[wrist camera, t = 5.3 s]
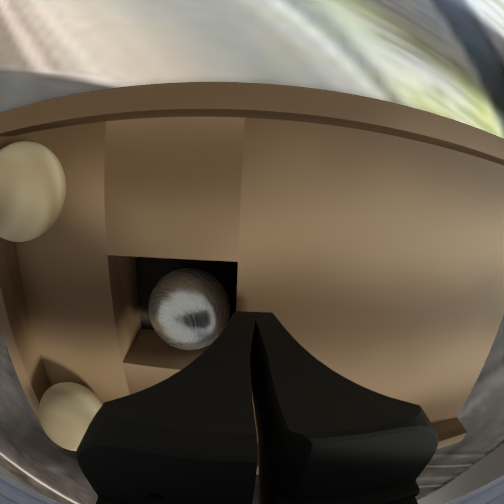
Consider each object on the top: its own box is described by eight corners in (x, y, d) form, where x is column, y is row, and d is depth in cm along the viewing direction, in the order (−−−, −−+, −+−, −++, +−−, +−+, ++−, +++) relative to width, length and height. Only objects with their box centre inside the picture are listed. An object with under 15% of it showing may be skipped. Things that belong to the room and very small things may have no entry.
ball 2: (122, 423, 13) (102, 472, 10) (67, 410, 13) (43, 452, 10) (108, 375, 12) (79, 426, 9) (49, 362, 12) (15, 404, 9)
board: (433, 398, 17) (461, 441, 12) (75, 390, 16) (46, 436, 12) (494, 156, 12) (553, 162, 8) (39, 124, 12) (-22, 120, 7)
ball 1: (85, 230, 10) (31, 257, 7) (21, 229, 10) (-34, 252, 7) (84, 137, 9) (25, 133, 6) (19, 146, 9) (-40, 149, 6)
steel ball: (239, 339, 14) (198, 378, 11) (179, 315, 15) (132, 343, 12) (249, 271, 13) (204, 298, 10) (182, 251, 14) (130, 269, 11)
